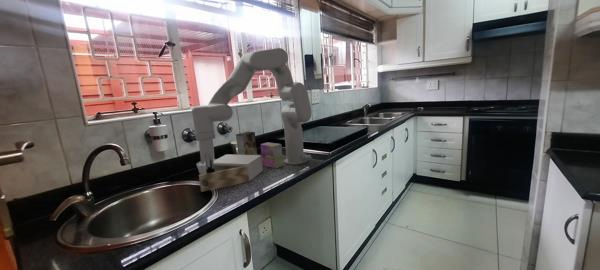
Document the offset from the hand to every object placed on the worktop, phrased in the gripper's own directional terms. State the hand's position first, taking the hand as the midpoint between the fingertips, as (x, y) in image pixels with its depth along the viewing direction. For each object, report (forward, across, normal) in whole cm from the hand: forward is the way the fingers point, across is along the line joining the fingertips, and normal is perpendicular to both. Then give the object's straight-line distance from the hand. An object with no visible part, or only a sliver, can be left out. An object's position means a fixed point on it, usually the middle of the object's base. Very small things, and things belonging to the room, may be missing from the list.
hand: (211, 177), depth 109 cm
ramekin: (+5, -24, -2) cm, 24 cm away
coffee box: (+5, -35, +19) cm, 40 cm away
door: (+4, +3, +6) cm, 8 cm away
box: (+5, -17, +30) cm, 35 cm away
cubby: (+5, -12, +11) cm, 17 cm away
